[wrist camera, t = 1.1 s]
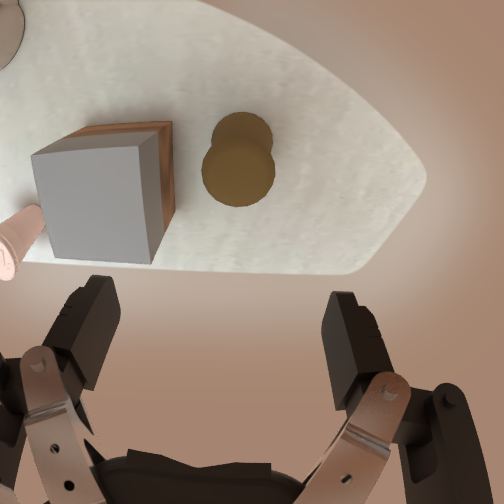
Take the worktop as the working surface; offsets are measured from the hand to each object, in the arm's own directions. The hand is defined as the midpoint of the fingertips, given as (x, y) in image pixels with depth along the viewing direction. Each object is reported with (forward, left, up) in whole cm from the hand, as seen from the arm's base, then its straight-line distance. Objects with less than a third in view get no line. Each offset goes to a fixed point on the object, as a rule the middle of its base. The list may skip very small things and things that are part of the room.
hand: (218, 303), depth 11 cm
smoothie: (+8, -27, -22) cm, 36 cm away
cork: (-1, 0, -22) cm, 22 cm away
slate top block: (+2, -12, -17) cm, 21 cm away
